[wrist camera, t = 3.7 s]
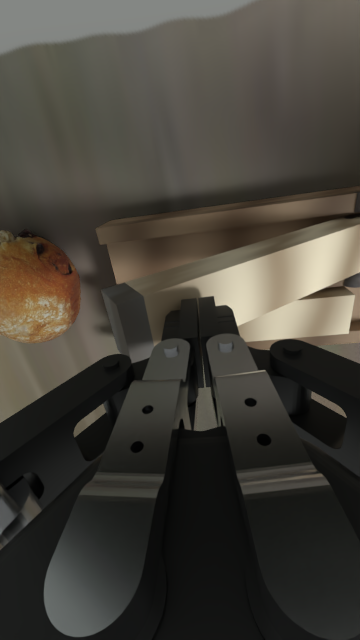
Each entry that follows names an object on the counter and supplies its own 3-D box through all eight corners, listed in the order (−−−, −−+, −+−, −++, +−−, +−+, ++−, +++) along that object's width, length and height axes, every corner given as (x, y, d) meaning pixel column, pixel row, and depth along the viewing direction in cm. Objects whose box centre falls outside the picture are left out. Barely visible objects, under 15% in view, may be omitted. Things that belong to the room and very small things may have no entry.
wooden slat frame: (382, 182, 21) (429, 185, 17) (358, 318, 27) (388, 346, 23) (110, 220, 24) (90, 231, 20) (138, 337, 30) (128, 366, 25)
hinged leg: (356, 212, 21) (391, 213, 19) (349, 257, 22) (381, 262, 20) (100, 289, 13) (116, 304, 11) (117, 349, 15) (134, 371, 13)
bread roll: (4, 277, 31) (-47, 333, 26) (-15, 199, 23) (-94, 260, 18) (88, 311, 33) (54, 370, 28) (97, 249, 25) (51, 318, 20)
